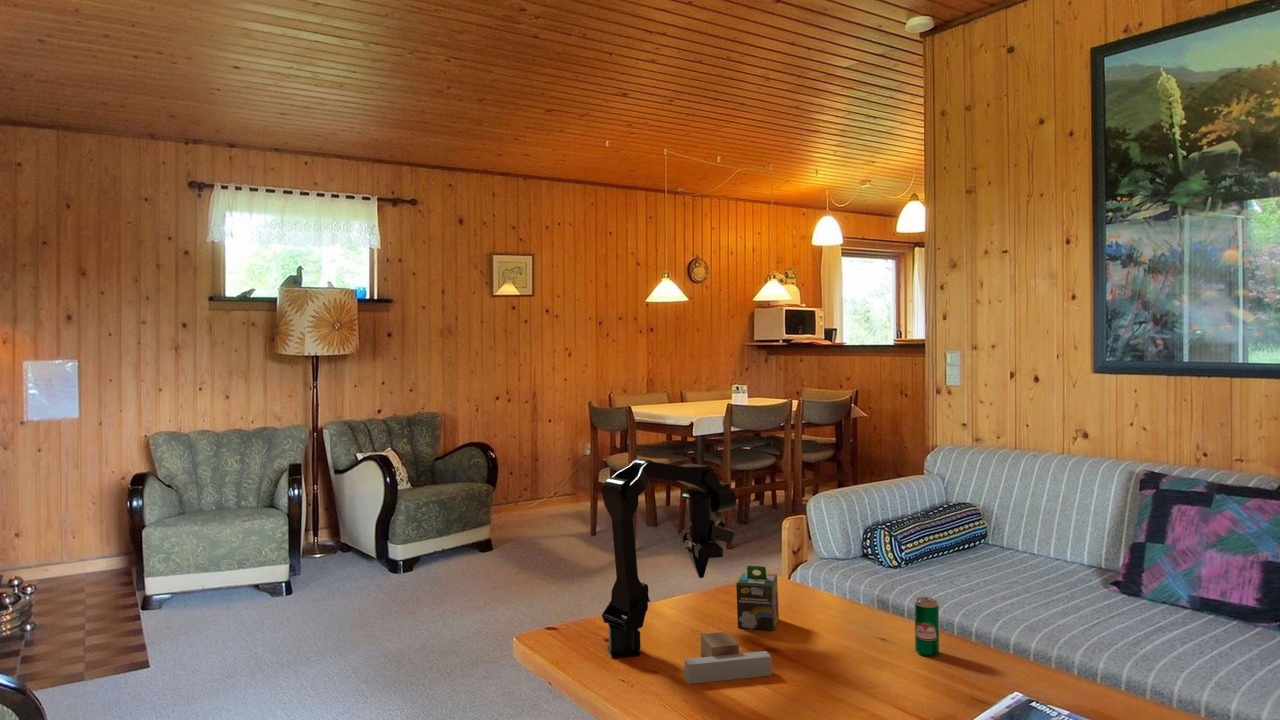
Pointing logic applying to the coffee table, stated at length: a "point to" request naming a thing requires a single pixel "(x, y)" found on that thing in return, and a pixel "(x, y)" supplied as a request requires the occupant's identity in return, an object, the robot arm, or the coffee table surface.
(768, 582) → the chalk box
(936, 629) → the soda can
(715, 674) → the batten
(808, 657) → the coffee table surface
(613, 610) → the robot arm
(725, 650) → the walnut brick
